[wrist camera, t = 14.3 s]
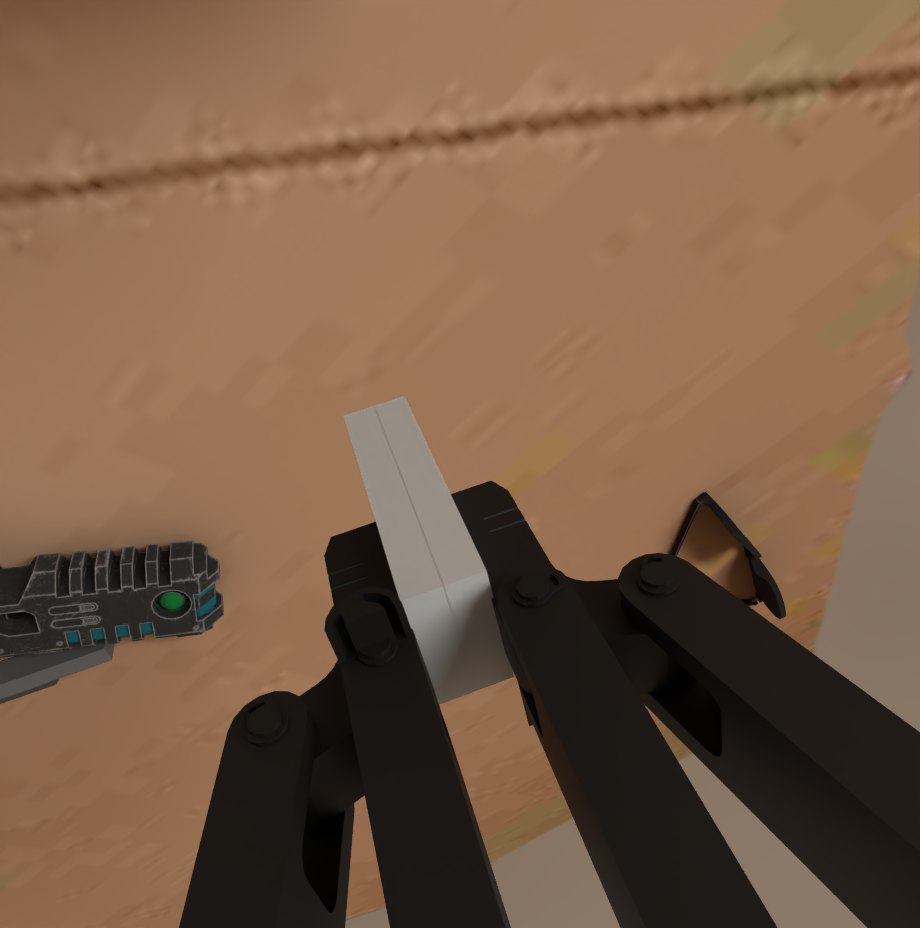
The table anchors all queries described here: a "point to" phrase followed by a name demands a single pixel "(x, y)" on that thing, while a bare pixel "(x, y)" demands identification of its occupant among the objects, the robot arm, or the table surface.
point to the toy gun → (108, 598)
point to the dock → (48, 668)
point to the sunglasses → (761, 575)
